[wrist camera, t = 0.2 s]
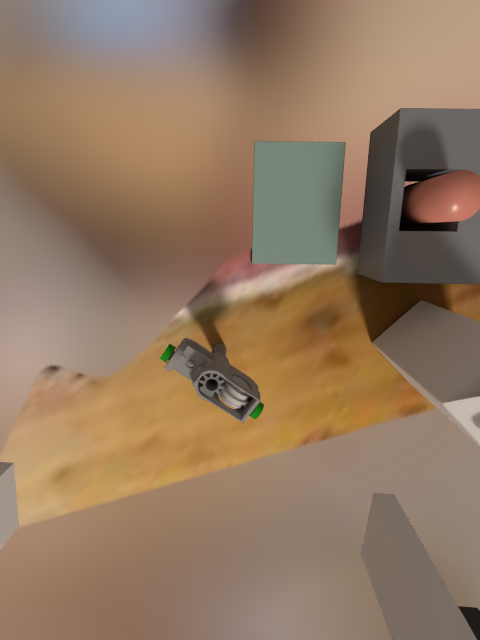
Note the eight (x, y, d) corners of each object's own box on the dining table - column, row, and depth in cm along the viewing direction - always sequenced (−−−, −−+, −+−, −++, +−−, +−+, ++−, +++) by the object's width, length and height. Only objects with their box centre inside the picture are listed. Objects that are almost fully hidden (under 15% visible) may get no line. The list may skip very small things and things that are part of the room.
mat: (254, 142, 35) (254, 141, 35) (344, 143, 35) (345, 142, 35) (251, 262, 38) (252, 263, 38) (335, 264, 38) (336, 264, 38)
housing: (370, 132, 35) (400, 108, 28) (543, 134, 35) (615, 110, 28) (357, 273, 38) (381, 282, 32) (514, 276, 38) (573, 285, 31)
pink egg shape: (396, 183, 33) (439, 169, 26) (435, 184, 33) (489, 170, 26) (391, 223, 34) (431, 221, 26) (429, 224, 34) (480, 221, 26)
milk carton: (420, 298, 39) (577, 358, 20) (459, 342, 40) (641, 436, 22) (370, 342, 40) (476, 434, 22) (409, 383, 41) (541, 504, 23)
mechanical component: (189, 314, 40) (171, 341, 30) (263, 363, 41) (268, 404, 31) (175, 335, 40) (153, 368, 31) (248, 383, 42) (249, 429, 32)
